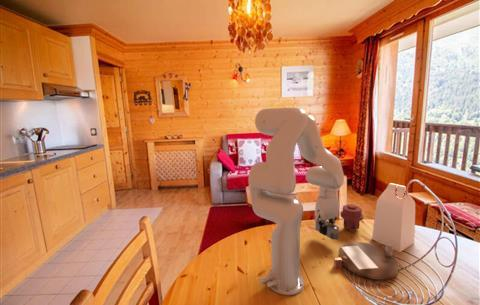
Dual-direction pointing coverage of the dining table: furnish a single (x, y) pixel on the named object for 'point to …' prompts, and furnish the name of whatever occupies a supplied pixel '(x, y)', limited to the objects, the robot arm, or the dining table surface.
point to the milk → (395, 218)
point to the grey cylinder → (329, 230)
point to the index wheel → (369, 260)
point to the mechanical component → (351, 217)
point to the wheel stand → (337, 263)
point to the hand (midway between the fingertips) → (326, 232)
